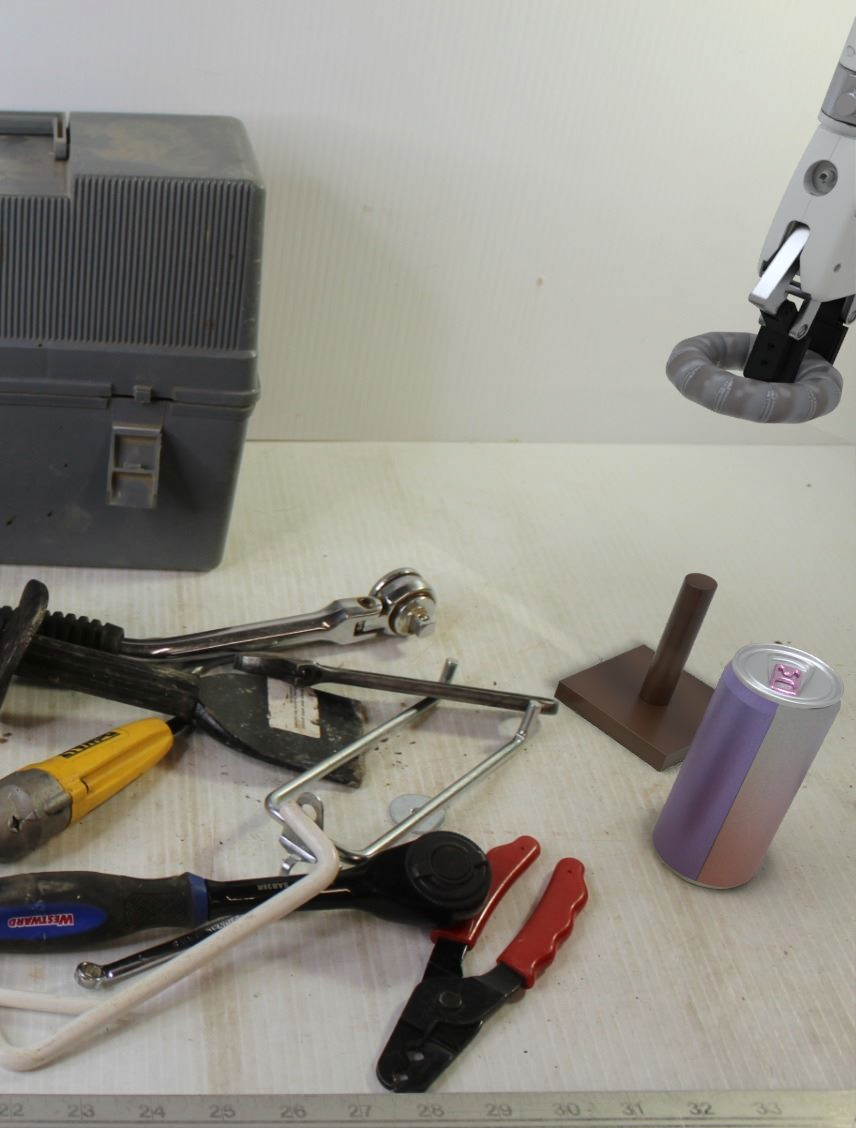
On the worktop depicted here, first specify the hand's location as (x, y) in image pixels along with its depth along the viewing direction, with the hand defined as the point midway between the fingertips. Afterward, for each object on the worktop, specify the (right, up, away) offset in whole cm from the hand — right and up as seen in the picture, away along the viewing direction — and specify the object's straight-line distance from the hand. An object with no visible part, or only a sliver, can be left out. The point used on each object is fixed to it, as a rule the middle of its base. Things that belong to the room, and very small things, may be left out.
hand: (784, 376), depth 91 cm
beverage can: (-10, -32, -7) cm, 34 cm away
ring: (-3, 0, -2) cm, 4 cm away
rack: (-7, -23, +4) cm, 25 cm away
